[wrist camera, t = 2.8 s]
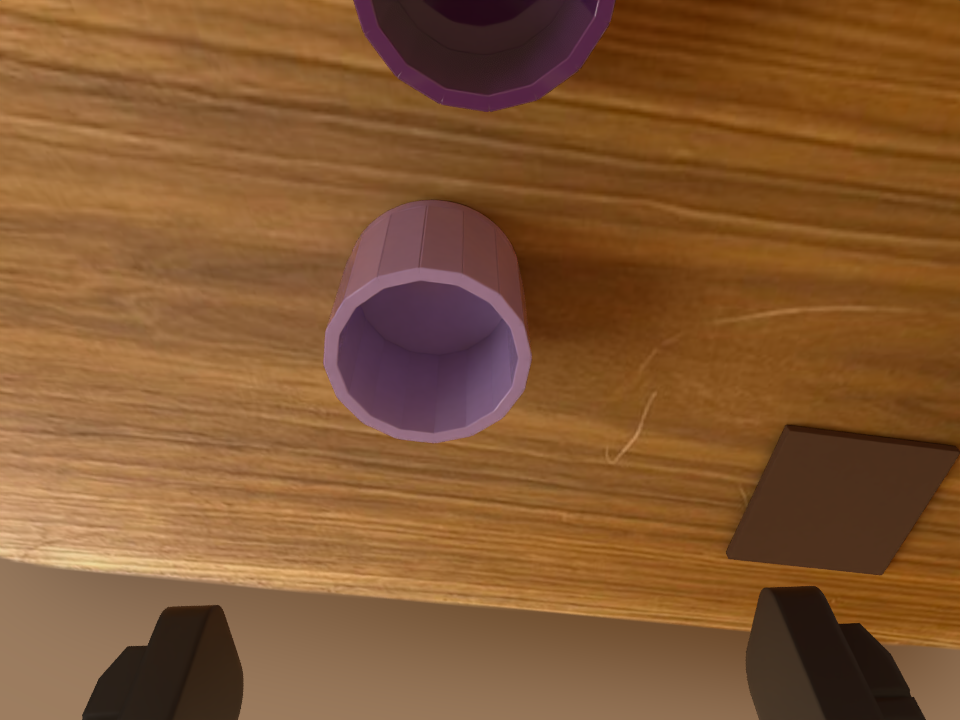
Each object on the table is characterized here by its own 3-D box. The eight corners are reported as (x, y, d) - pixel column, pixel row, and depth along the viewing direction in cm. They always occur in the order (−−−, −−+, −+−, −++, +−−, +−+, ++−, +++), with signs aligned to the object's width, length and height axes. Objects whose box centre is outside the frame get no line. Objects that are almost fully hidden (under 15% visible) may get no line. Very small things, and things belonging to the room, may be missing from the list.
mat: (725, 552, 33) (728, 559, 33) (785, 424, 29) (789, 430, 29) (878, 568, 34) (882, 575, 33) (955, 445, 30) (961, 452, 30)
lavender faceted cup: (342, 342, 27) (319, 430, 23) (354, 186, 24) (329, 254, 20) (504, 363, 28) (510, 452, 24) (535, 213, 25) (549, 285, 20)
